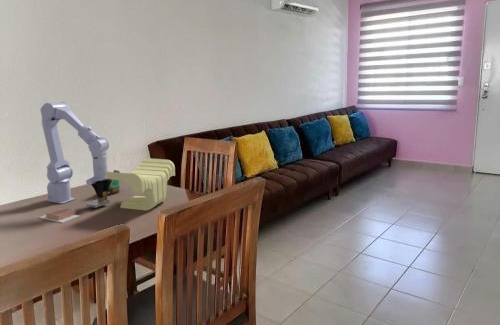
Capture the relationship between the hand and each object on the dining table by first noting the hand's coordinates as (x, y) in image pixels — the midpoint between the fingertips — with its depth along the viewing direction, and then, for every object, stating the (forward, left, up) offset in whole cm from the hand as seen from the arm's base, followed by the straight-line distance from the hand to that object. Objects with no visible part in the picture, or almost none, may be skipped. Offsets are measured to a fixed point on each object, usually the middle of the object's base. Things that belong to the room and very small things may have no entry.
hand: (102, 196), depth 172 cm
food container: (-9, +17, -4) cm, 20 cm away
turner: (0, -3, -2) cm, 4 cm away
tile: (-4, -14, -2) cm, 15 cm away
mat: (-4, -19, -4) cm, 20 cm away
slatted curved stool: (+16, +8, -4) cm, 18 cm away
